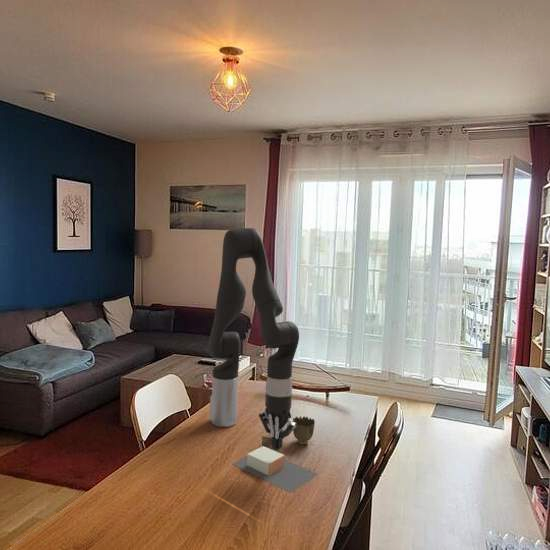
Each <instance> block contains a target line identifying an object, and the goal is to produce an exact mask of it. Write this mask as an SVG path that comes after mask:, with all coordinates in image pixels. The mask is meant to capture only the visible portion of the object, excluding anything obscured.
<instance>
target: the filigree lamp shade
mask: <svg viewBox="0 0 550 550" xmlns="http://www.w3.org/2000/svg"><path fill="white" fill-rule="evenodd" d="M292 421H293V422H296V423H297V427H296V428H295V429H294V430H293V431H292V432H293V436H294V438H295V439H296V440H297V441H296V442H297V444H299V445H301V446H306V445H308V444H309V441H310V440H311V439H312V437H313V436H314V435H313V434H314V432H315V431H314V430H315V419H314V418H311V417H308V416H303V417H302V416H301V415H300V416H299V417H298V416H296V417H294V418H293V419H292Z"/></svg>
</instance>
